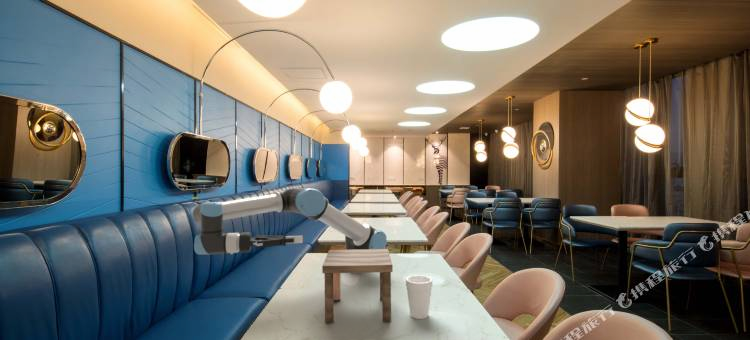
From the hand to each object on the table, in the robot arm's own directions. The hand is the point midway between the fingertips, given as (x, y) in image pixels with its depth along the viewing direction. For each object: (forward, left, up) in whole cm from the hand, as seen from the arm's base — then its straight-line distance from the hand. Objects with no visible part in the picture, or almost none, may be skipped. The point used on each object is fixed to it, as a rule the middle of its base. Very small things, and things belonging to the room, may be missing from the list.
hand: (302, 239), depth 141 cm
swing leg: (+6, +13, -25) cm, 28 cm away
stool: (+8, +22, -25) cm, 34 cm away
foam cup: (+14, +44, -26) cm, 53 cm away
